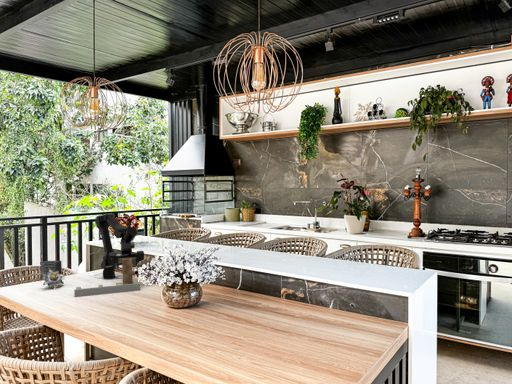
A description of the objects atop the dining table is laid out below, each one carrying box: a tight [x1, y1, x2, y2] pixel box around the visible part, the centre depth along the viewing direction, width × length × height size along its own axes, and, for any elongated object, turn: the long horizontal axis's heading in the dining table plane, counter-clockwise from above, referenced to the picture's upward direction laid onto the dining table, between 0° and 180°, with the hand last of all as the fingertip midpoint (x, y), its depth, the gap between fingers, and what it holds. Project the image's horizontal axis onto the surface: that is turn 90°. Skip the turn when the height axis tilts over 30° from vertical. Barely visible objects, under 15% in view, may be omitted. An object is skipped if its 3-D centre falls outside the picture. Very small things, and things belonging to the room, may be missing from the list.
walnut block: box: [121, 258, 134, 285], centre depth 214 cm, size 5×5×14 cm
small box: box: [39, 260, 63, 280], centre depth 245 cm, size 11×6×10 cm, turn 84°
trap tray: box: [73, 280, 141, 298], centre depth 210 cm, size 32×13×4 cm, turn 110°
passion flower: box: [40, 270, 65, 289], centre depth 220 cm, size 11×11×12 cm
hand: (127, 269), depth 215 cm, fingers open, 9 cm apart
